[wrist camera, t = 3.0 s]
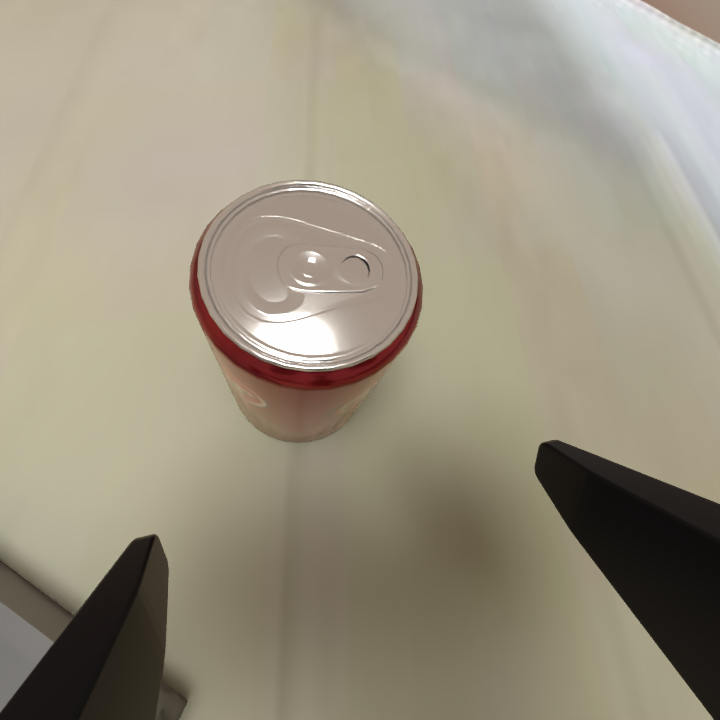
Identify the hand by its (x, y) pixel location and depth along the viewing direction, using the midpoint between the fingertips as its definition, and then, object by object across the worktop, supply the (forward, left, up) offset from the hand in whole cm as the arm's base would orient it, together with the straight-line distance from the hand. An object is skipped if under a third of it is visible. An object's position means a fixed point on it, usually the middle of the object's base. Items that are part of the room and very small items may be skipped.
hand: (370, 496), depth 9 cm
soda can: (+5, -4, -13) cm, 15 cm away
